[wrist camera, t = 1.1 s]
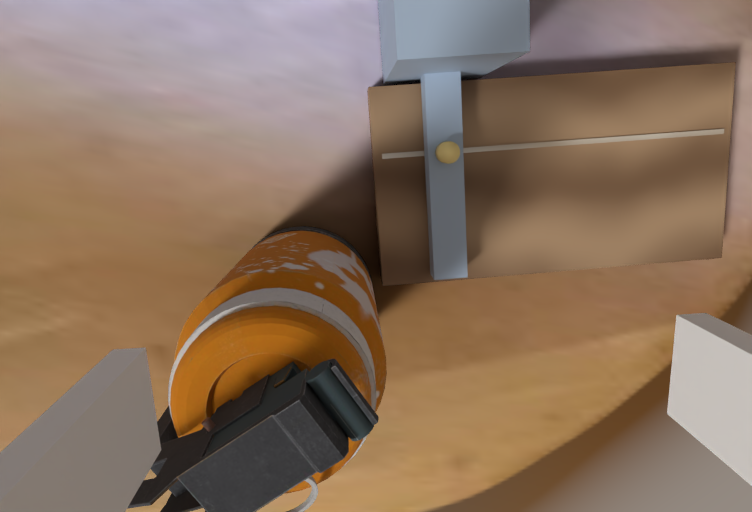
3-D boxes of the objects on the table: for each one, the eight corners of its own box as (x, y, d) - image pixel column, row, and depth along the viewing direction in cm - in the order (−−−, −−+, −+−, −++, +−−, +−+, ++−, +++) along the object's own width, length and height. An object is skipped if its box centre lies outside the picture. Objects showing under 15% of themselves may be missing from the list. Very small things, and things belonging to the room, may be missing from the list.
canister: (397, 307, 35) (463, 512, 15) (265, 394, 36) (165, 695, 16) (321, 197, 33) (285, 270, 13) (183, 292, 34) (-42, 490, 14)
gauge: (376, -22, 30) (388, -91, 22) (476, -28, 31) (528, -98, 22) (395, 268, 34) (412, 310, 25) (484, 261, 34) (531, 300, 26)
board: (367, 90, 32) (368, 86, 30) (712, 67, 33) (736, 61, 31) (380, 278, 34) (382, 286, 32) (700, 251, 35) (722, 258, 33)
